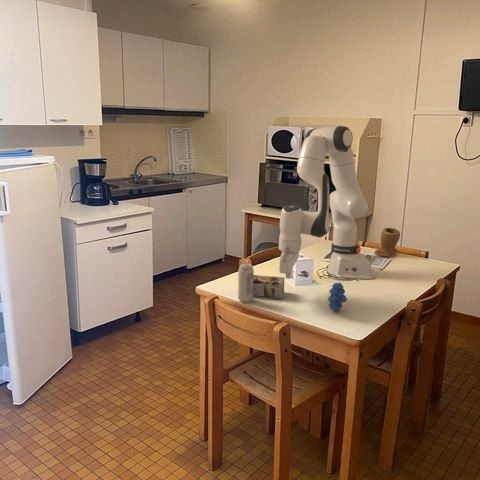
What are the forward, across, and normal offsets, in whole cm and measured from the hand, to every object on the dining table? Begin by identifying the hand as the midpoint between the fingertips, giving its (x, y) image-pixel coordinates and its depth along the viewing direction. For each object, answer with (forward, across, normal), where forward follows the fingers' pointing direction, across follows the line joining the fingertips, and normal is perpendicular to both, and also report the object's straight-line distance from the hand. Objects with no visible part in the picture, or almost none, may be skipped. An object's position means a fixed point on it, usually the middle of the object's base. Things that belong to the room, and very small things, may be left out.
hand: (288, 277), depth 199 cm
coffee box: (+5, 0, +2) cm, 5 cm away
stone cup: (+8, +79, -38) cm, 88 cm away
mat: (+8, 0, +11) cm, 14 cm away
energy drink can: (+8, -11, +15) cm, 20 cm away
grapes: (+8, -10, -22) cm, 26 cm away
